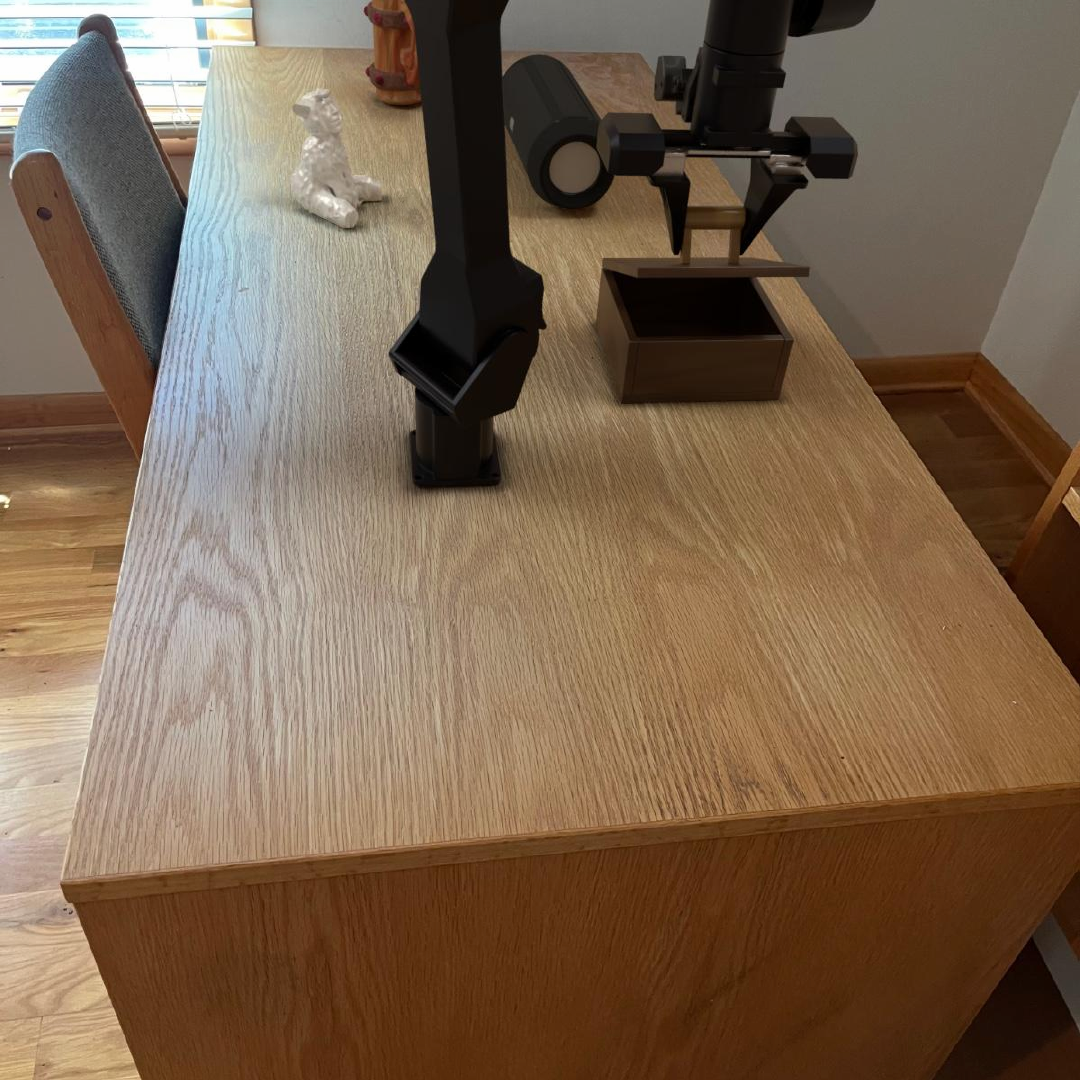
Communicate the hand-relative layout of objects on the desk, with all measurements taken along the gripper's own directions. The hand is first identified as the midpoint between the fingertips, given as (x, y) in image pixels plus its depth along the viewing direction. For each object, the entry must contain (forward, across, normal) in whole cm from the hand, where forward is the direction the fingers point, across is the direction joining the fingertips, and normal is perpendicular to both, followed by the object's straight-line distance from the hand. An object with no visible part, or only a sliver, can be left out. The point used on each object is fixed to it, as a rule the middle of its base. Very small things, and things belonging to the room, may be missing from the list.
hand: (707, 253), depth 82 cm
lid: (+2, 0, -1) cm, 2 cm away
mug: (+10, +22, -64) cm, 68 cm away
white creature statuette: (+10, +31, -33) cm, 46 cm away
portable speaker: (+10, +6, -43) cm, 45 cm away
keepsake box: (+11, 0, -1) cm, 11 cm away
